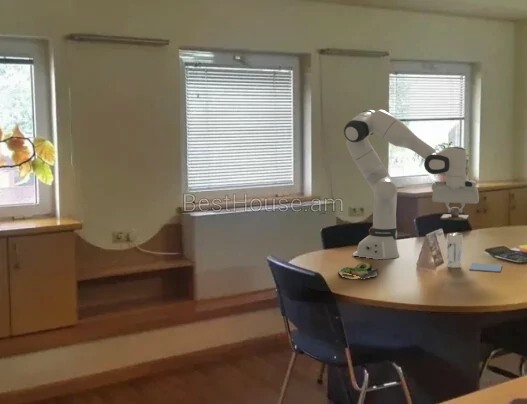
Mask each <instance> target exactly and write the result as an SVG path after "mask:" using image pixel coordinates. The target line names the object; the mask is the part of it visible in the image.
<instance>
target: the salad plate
mask: <svg viewBox="0 0 527 404" xmlns="http://www.w3.org/2000/svg"><path fill="white" fill-rule="evenodd" d="M378 271H379V268H375V269H374V268H373V267H372V264H371V263H370V262H361V263H358V264H357V265H356V266H355V267H349V266H346V267H342V268H339V270H338V275H339V274H340V272H342V273H349V274H352V275H356V276H359V277H360V278H362V279H363V280H365V279H364V278H368V277H374V278H376V277H377V276H378V273H377V272H378ZM340 275H341V274H340ZM340 275H339V276H340ZM341 276H344V277H350V276H349V275H341ZM341 276H340V277H341ZM375 276H376V277H375Z"/></svg>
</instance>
